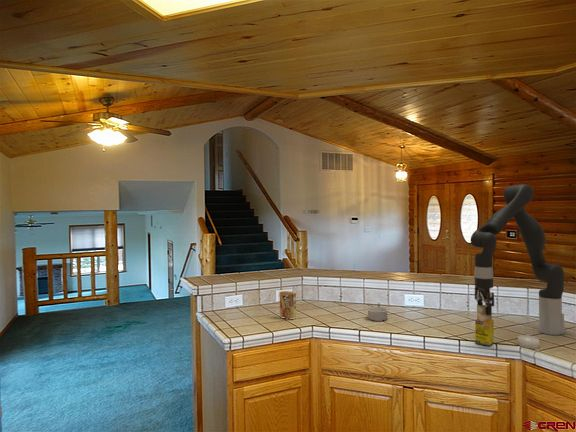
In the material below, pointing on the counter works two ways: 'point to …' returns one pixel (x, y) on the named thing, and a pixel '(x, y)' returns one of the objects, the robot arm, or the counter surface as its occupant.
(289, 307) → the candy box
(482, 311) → the beech block
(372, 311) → the saucepan
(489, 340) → the supplement box
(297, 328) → the counter surface
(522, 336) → the white rounded lump
